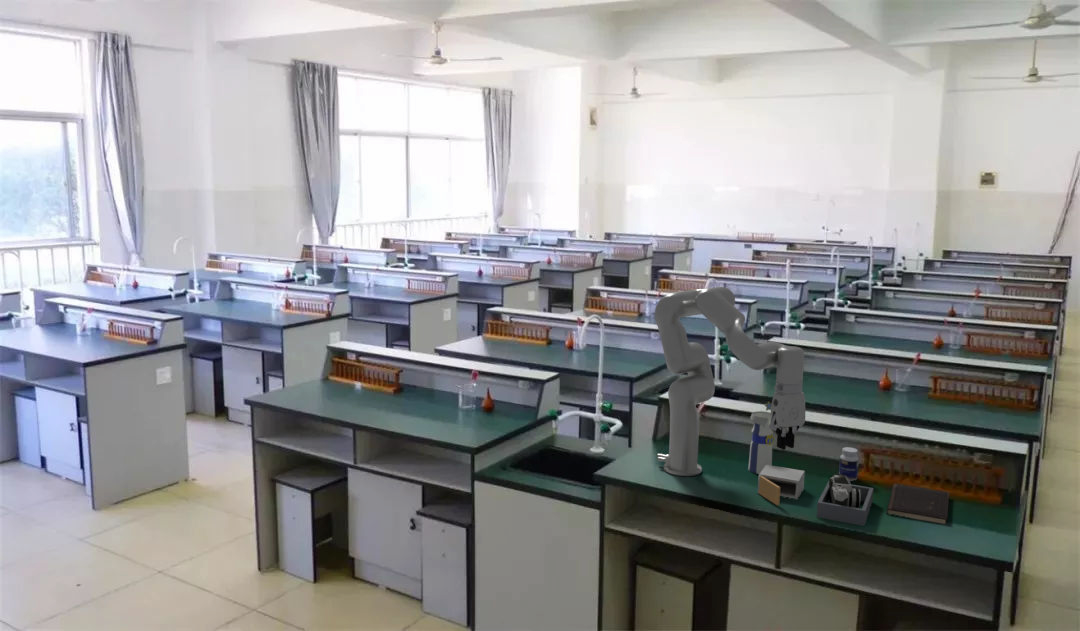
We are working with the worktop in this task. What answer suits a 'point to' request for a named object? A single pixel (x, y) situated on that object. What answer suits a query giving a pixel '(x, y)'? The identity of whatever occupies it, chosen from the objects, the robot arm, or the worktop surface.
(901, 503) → the hardcover book
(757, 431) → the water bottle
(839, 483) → the camera
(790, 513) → the worktop surface
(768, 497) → the side door
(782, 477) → the box
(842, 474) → the pill bottle
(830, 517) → the box
